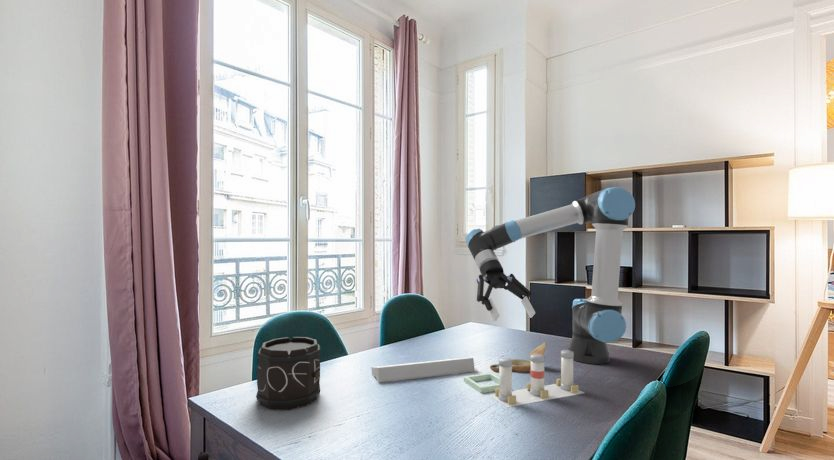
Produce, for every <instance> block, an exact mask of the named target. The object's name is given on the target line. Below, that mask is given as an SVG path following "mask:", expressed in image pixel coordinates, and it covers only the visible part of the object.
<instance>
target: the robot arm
mask: <svg viewBox="0 0 834 460" xmlns="http://www.w3.org/2000/svg"><path fill="white" fill-rule="evenodd" d="M635 208H636V202H635V198H634V196H633V195H632V193H630V192H629V191H628V190H627V189H625V188H623V187H620V186H619V187H618V186H613V187H607V188H604V189H601V190H599V191H598V190H597V191H595V192H593V193H591V194H589V195H587V196H584V197H582V198H580V199H576V200H573V201H572V203H571V204H568V205H565V206H561V207H557V208H554V209H551V210H548V211H544V212H540V213H537V214H534V215H531V216H526V217H523V218H520V219H517V220H514V219H513V220H509V221H506V222H504V223H502V224H498V225H494V226H493V227H491V229H489V230H486V231H483V229H481V228H474V229H471V230H470V231H468V232H467V234H466V235H465V242H466V245H467V247H468V249H469V252H470V253H471V256H472V258H473V260H474V262H475V265H476V267H477V268H478V270H479V272H480V274H479V275H478V276H477V278H476V283H477V289H476V290H477V293H476V301H477V302H478V303H480V304H482V305H484V307H485V308H486V310H487V311H488V312H489V313H490V315H491V318H492V319H493V322H495V321H497V320H498V319H499V317H500V313H499V311H498V309H497V307H496V304H495V303H494V300H493V298H491V297H490V295H491V293H492V290H493V289H495V290H496V289H503V290H507V291H508V292H510V293H511V294H513V295H514V296H516V297H518V298H519V299H520V300H521V301H520V302H521V304H522V306H523V308H524V309H525V311H526V313H527V315H528V317H529V318H533V316H534V315H535V314H536V311H535V309H534V307H533V303H532V301H531V299H530V298H531V296H532V295H533V293H532V292H531V290H529V288H527V287H526V286H525V285H524V284H523V283H521V282H520V281H519V280H518V279H517V278H516V277H515V275H514V274H513V273H509V275H506V274H505V271H504V267H503V266H502V264H501V262H500V261H499V258H498V257H497V255H496V253H495V251H496V250H498V249H500V248H503V247H505V246H507V245H509V244H510V245H511V244H512V243H515V242H517V241H518V240H522V239H524V238H529V237H531V236H535V235H538V234H539V235H540V234H544V233H547V232H550V231H553V230H556V229H557V230H558V229H561V228H565V227H568V226H571V225H574V224H578V225H584V224H589V223H591V226H592V227H593V228H595V241H594V256H593V267H592V280H591V281H592V283H591V293H590V294H591V295H590V296H589V297H588V298H575V299H574V300H573V301H572V306H571V309H572V338H571V341H570V344H569V347H568V348H567V350H569V351H573V352H574V358H573V361H576V362H579V363H585V364H593V365H599V364H601V365H603V364H608V363H610V362H611V354H610V352H609V350H608V346H607V343H614V342H617V341H618V340H619V339H621V338H622V337H623V336H624V335H625V333H626V330H627V323H626V319H625V318H624V316H623V315H622V314H623V313H622V312H623V303H622V302H621V301H620V300H619V287H620V286H619V285H620V273H621V271H620V270H621V261H622V260H621V256H622V248H623V247H622V246H623V245H622V244H623V232H624V230H626V229H627V228H628V227H629V219H630V217H631V216H632V214H634V211H635ZM485 283H486V284H488V286H487V288H486V291H485V290H484V288H485ZM484 291H485V293H484Z"/></svg>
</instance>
